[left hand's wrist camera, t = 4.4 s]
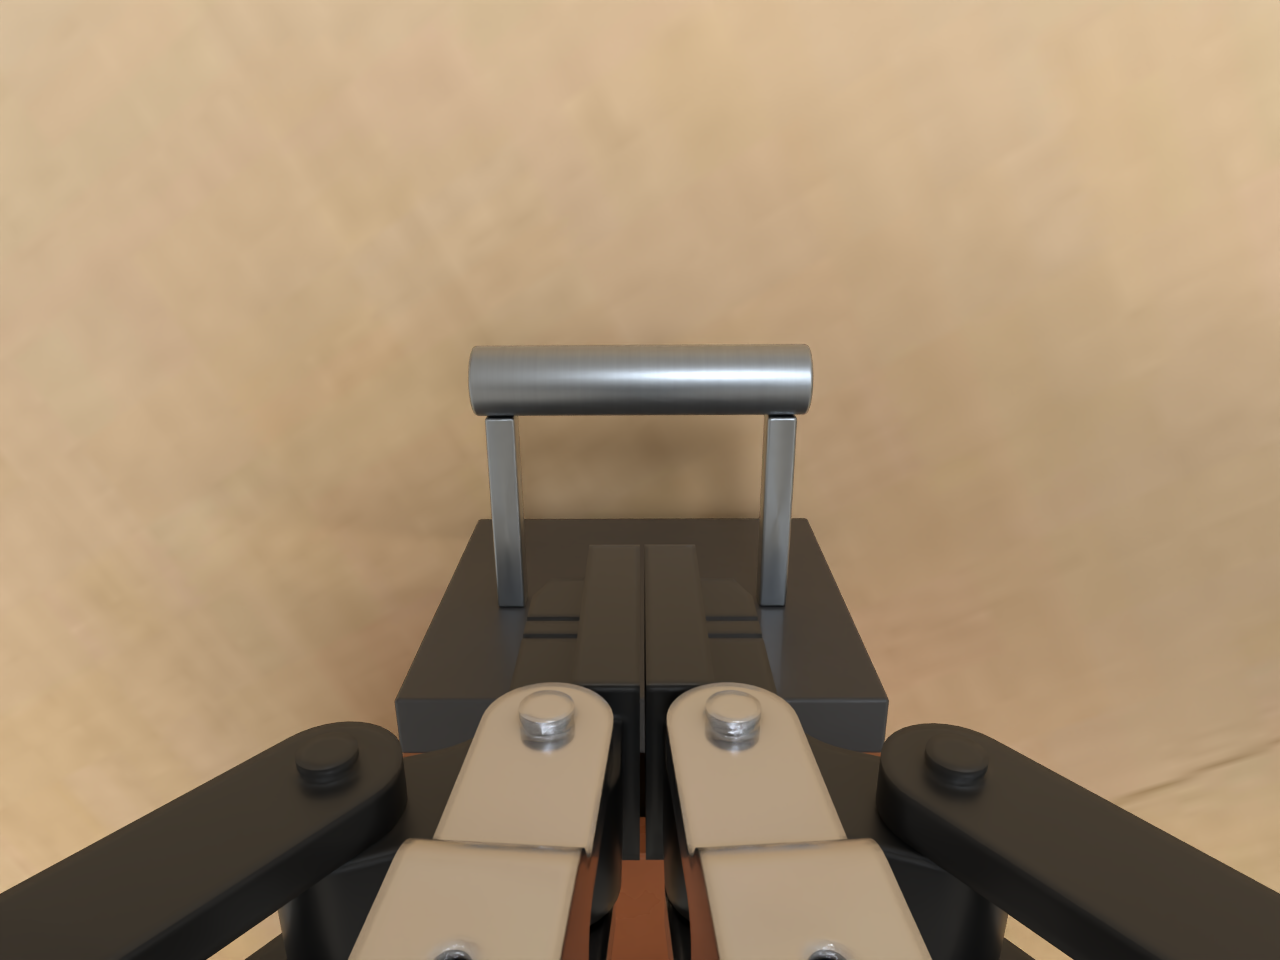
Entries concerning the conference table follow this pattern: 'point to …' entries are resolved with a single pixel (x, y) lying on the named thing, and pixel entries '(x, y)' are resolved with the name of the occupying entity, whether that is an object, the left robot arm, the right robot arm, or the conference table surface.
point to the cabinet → (640, 906)
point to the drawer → (642, 538)
